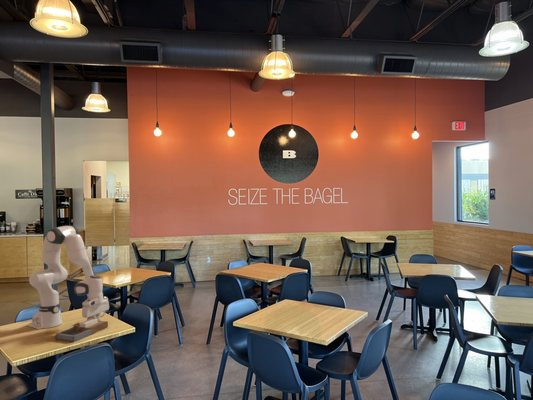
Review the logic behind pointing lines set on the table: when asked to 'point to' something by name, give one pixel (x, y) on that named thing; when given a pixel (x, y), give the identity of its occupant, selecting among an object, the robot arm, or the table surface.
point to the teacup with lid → (96, 316)
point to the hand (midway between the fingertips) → (96, 320)
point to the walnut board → (92, 327)
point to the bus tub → (72, 335)
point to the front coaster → (85, 324)
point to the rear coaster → (93, 320)
